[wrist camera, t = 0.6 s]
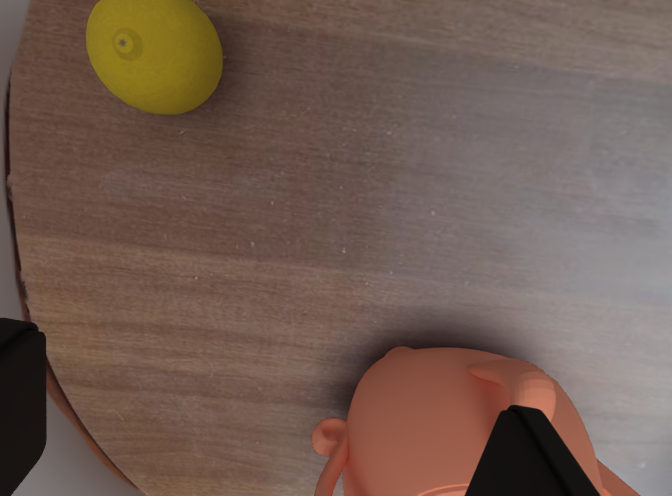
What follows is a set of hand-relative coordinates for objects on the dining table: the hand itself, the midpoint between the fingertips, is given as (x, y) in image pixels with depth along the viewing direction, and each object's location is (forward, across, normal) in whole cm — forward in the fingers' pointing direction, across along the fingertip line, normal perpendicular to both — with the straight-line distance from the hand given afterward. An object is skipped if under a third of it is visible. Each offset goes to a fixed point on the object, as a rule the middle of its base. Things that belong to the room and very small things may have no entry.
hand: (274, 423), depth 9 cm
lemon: (+19, +8, -6) cm, 22 cm away
